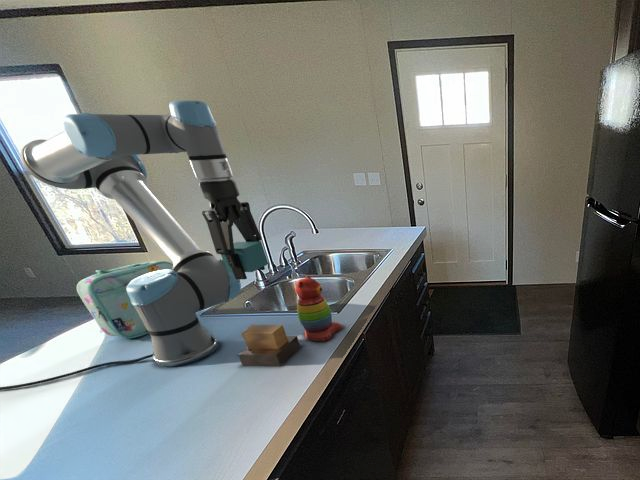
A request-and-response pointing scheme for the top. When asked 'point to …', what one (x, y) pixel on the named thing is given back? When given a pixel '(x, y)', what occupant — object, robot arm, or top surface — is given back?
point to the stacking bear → (314, 311)
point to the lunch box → (116, 298)
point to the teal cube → (248, 256)
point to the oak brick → (265, 337)
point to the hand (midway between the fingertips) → (250, 273)
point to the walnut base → (269, 354)
